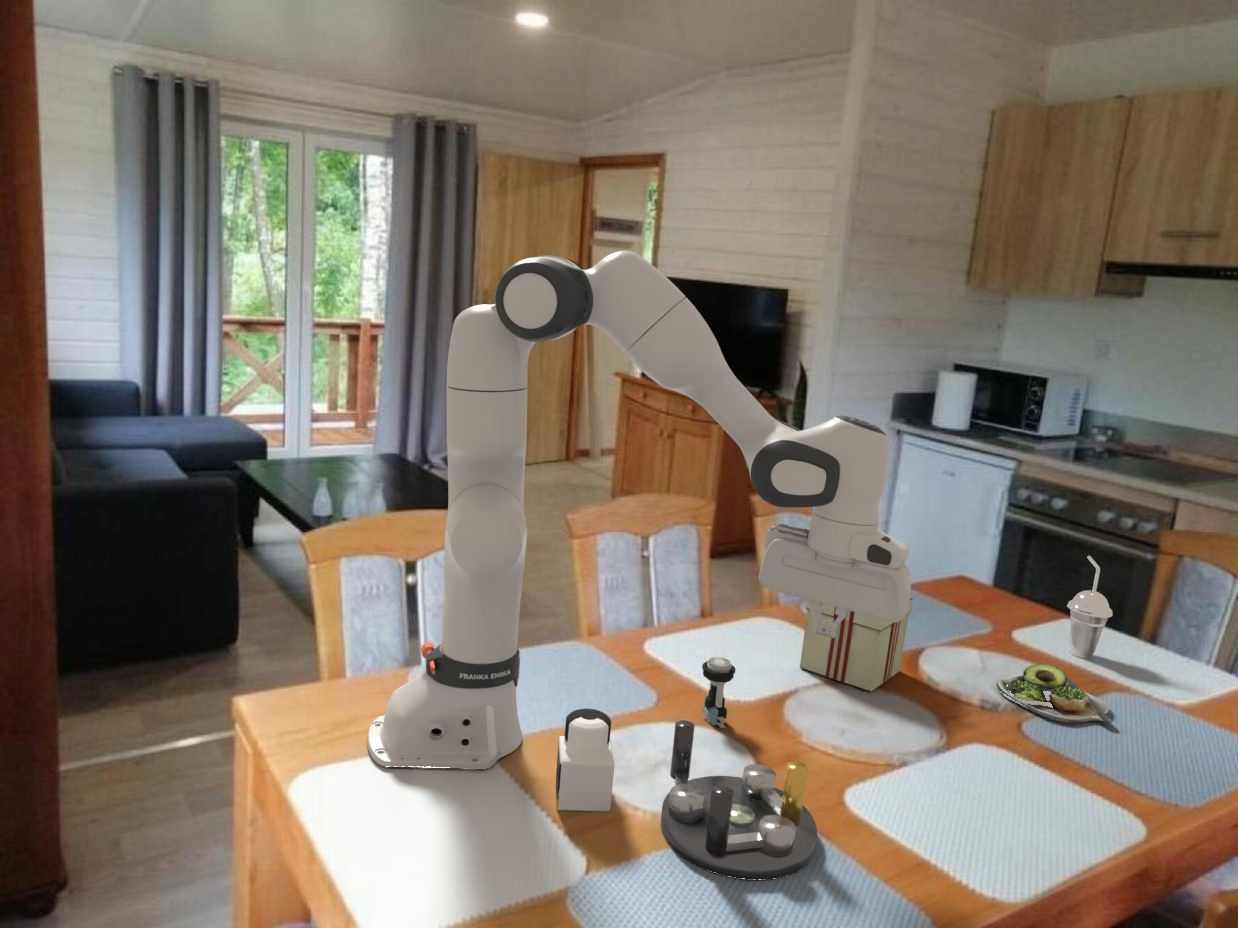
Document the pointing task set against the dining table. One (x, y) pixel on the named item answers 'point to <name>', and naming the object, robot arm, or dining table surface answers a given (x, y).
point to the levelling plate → (743, 820)
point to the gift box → (855, 648)
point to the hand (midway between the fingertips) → (824, 634)
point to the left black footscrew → (684, 777)
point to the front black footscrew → (770, 838)
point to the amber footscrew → (762, 785)
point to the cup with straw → (1087, 619)
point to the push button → (717, 688)
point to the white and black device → (585, 763)
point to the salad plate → (1054, 695)
